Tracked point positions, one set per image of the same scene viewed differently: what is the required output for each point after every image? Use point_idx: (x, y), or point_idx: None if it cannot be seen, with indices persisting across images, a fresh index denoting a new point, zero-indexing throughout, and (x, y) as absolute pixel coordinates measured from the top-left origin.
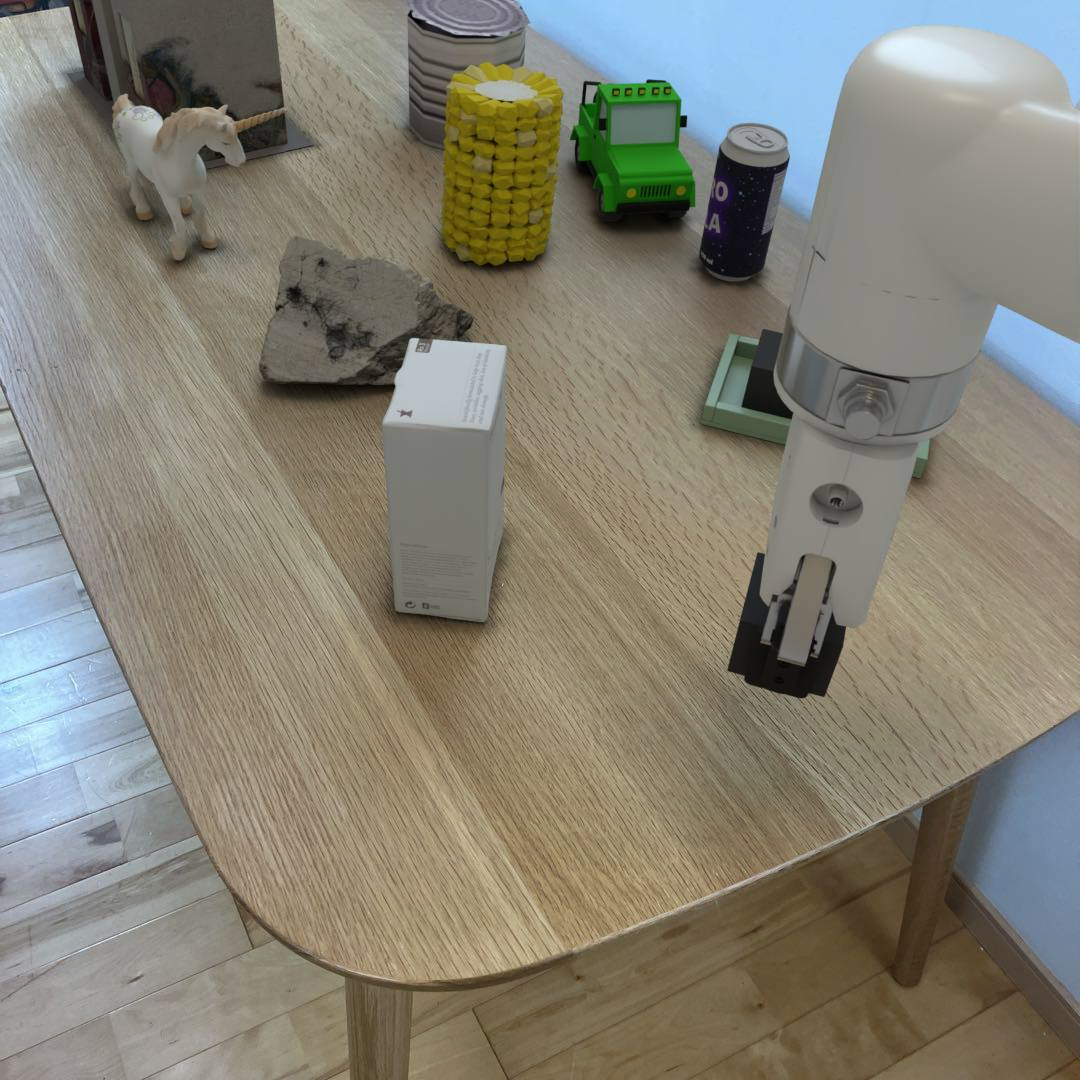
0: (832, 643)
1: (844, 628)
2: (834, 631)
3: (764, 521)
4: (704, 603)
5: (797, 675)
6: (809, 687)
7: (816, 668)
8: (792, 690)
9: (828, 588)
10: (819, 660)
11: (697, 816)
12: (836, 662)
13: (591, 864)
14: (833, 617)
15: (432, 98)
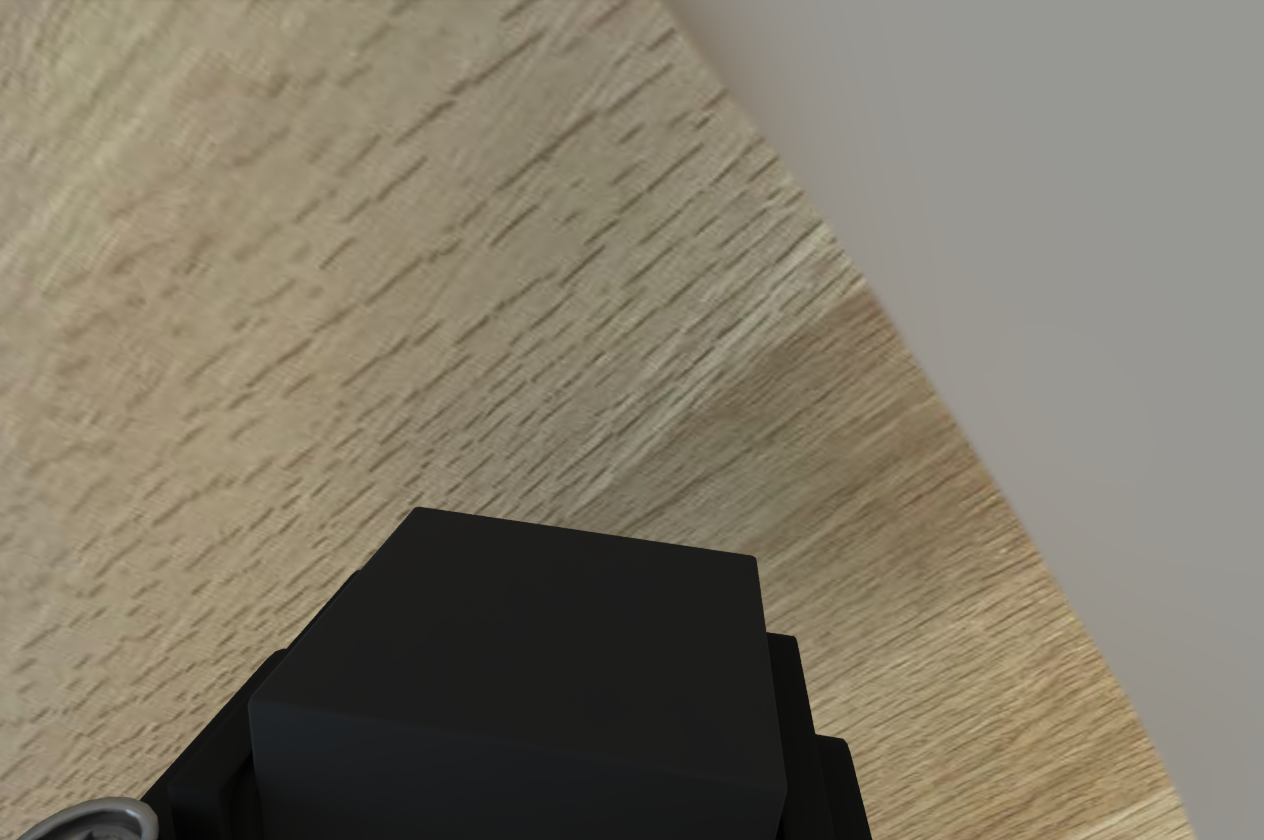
0: (768, 830)
1: (648, 772)
2: (684, 819)
3: (12, 476)
4: (317, 595)
5: (870, 833)
6: (802, 675)
7: (822, 771)
8: (845, 746)
9: (390, 819)
10: (829, 817)
11: (870, 590)
12: (773, 697)
13: (1000, 756)
14: (581, 810)
15: None
